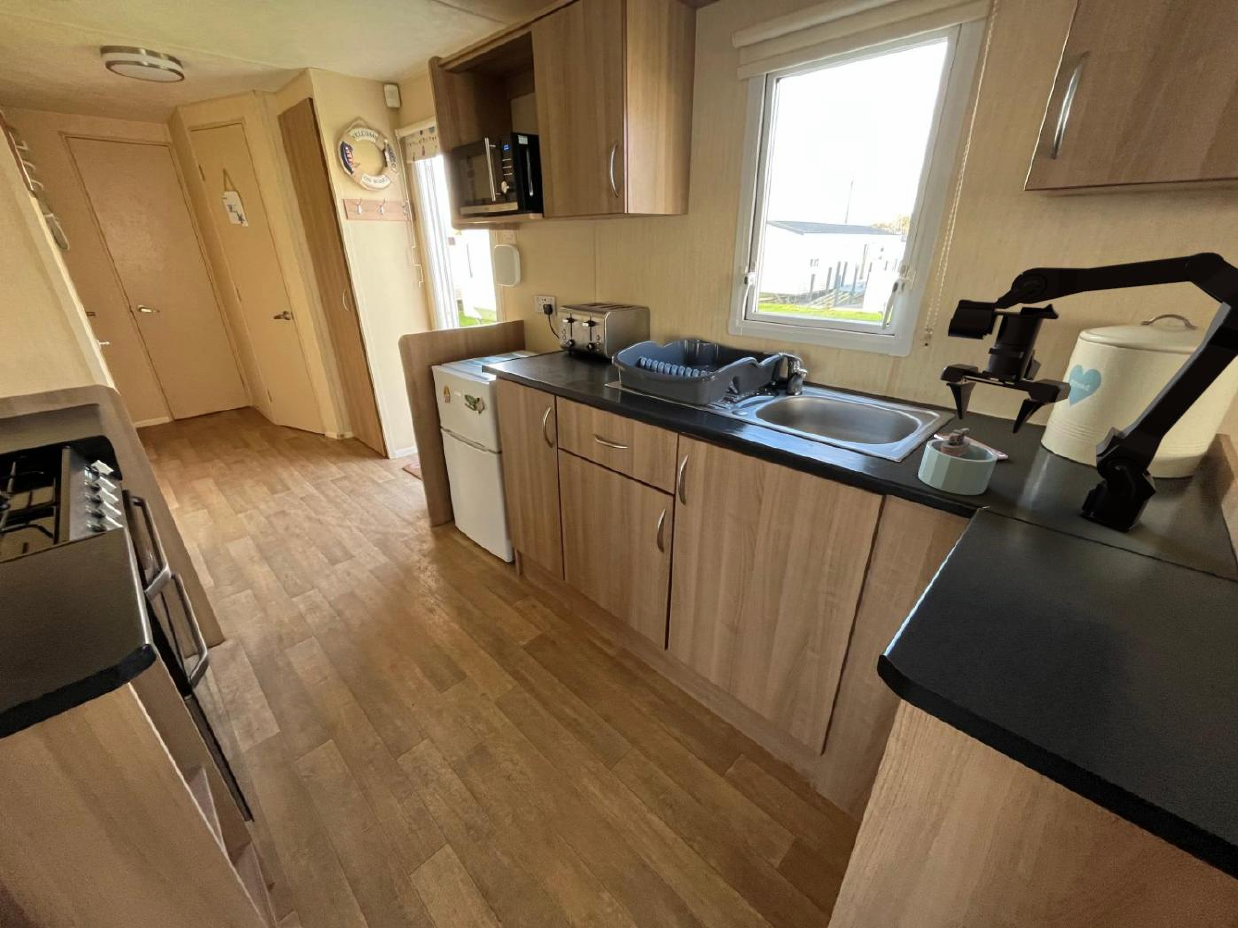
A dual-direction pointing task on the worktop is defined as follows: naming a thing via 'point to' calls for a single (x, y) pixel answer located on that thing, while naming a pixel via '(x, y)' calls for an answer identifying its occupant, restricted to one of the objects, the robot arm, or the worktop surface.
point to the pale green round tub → (957, 469)
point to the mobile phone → (999, 454)
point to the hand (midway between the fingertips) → (987, 425)
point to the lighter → (956, 443)
